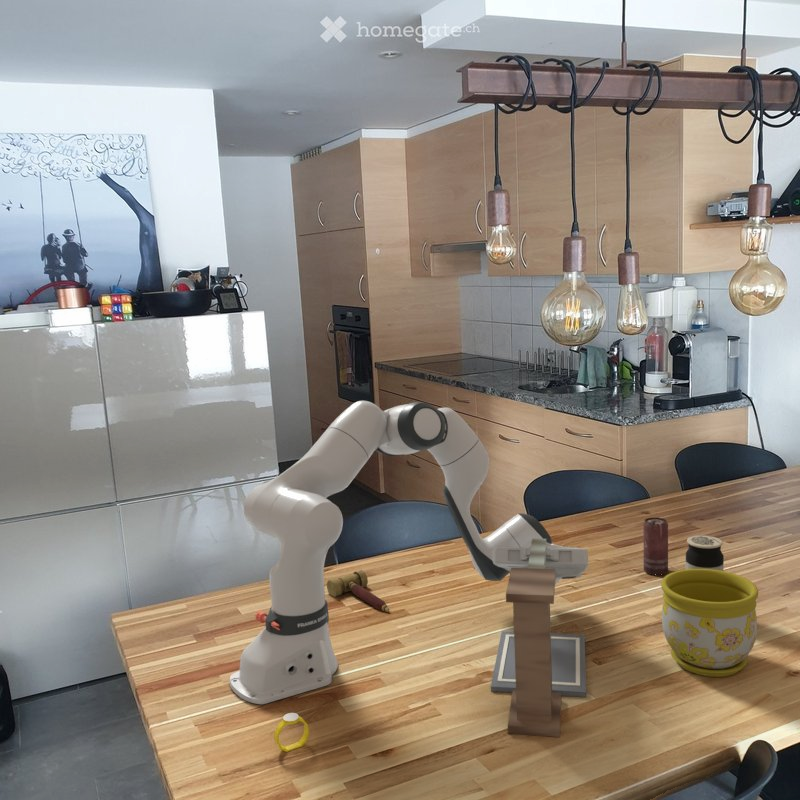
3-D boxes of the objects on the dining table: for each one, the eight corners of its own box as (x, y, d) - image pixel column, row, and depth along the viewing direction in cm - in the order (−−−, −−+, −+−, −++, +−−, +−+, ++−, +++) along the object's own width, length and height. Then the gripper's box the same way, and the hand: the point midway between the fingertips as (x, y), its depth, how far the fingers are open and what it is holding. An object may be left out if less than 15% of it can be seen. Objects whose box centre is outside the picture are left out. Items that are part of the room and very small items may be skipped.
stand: (513, 697, 152) (508, 567, 148) (561, 700, 150) (558, 569, 146) (507, 733, 140) (502, 593, 136) (559, 737, 138) (556, 595, 134)
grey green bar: (543, 590, 151) (543, 575, 150) (526, 589, 151) (526, 574, 151) (547, 552, 170) (546, 538, 169) (532, 551, 171) (531, 538, 170)
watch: (305, 740, 142) (304, 708, 142) (311, 747, 140) (310, 715, 139) (273, 749, 139) (272, 717, 139) (278, 757, 137) (278, 724, 136)
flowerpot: (689, 633, 174) (689, 561, 171) (772, 660, 160) (774, 583, 158) (644, 663, 162) (643, 586, 159) (730, 695, 149) (731, 612, 146)
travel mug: (692, 624, 178) (692, 547, 175) (680, 609, 185) (681, 535, 182) (728, 623, 177) (729, 546, 174) (715, 608, 185) (716, 534, 182)
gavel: (404, 596, 195) (370, 607, 189) (405, 613, 196) (371, 625, 190) (358, 567, 211) (326, 577, 206) (358, 583, 212) (326, 593, 207)
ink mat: (501, 635, 178) (501, 630, 177) (584, 638, 174) (584, 633, 173) (490, 691, 154) (490, 685, 154) (586, 697, 151) (586, 691, 150)
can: (652, 577, 205) (652, 525, 202) (639, 569, 211) (638, 518, 208) (673, 574, 206) (673, 522, 204) (659, 566, 212) (659, 515, 210)
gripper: (495, 547, 181) (488, 536, 168) (587, 548, 177) (587, 537, 164) (494, 575, 179) (488, 566, 166) (588, 577, 174) (588, 568, 162)
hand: (538, 552), depth 165 cm, fingers closed on grey green bar, 3 cm apart
